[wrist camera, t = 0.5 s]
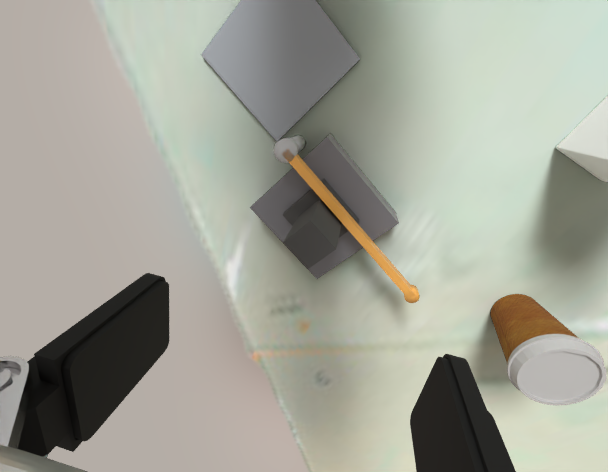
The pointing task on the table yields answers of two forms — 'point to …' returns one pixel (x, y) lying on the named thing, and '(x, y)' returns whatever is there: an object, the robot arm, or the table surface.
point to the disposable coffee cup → (545, 353)
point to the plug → (314, 227)
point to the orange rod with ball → (342, 215)
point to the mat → (279, 58)
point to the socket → (348, 185)
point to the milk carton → (590, 142)
